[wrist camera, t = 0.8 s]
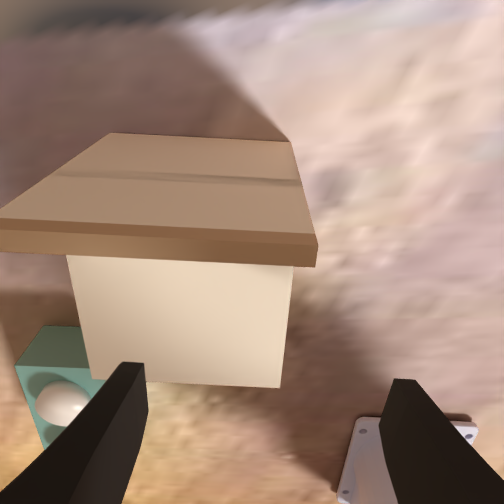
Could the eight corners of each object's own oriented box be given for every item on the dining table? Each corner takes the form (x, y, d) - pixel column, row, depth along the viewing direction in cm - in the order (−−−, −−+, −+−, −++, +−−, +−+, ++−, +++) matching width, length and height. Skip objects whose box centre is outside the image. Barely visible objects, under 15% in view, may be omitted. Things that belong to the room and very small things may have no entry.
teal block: (138, 421, 27) (118, 481, 24) (73, 418, 27) (43, 479, 24) (122, 325, 23) (96, 381, 20) (45, 322, 23) (5, 377, 20)
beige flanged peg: (275, 305, 22) (284, 475, 14) (130, 298, 22) (51, 464, 14) (290, 141, 18) (318, 245, 9) (109, 132, 18) (-28, 228, 9)
